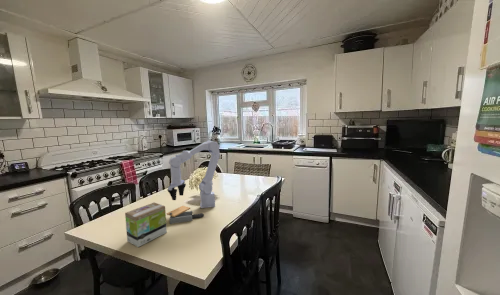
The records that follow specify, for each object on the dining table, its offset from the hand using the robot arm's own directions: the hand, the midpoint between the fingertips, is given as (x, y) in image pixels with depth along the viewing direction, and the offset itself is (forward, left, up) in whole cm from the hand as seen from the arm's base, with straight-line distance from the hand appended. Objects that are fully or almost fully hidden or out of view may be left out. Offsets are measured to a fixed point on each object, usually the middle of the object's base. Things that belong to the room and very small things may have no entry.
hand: (177, 197), depth 126 cm
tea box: (+13, +25, -10) cm, 30 cm away
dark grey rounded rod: (-11, +11, -10) cm, 18 cm away
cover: (-1, +7, -6) cm, 9 cm away
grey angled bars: (-2, +11, -10) cm, 15 cm away
